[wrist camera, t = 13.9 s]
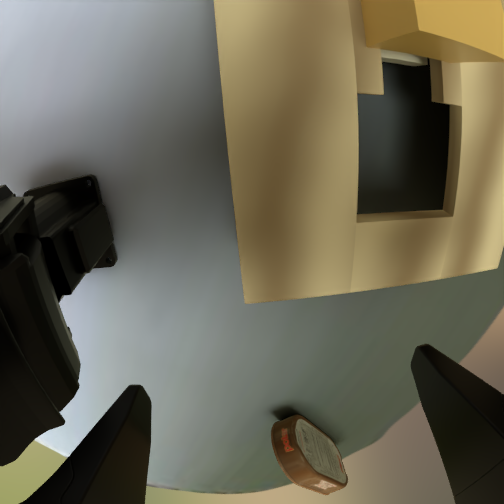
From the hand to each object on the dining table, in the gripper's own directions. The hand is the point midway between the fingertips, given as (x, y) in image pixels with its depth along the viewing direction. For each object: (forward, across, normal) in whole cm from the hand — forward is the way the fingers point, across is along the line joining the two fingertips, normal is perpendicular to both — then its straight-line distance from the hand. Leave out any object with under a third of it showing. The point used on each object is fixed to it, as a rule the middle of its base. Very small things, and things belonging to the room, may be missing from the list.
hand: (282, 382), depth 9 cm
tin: (+12, -3, +27) cm, 29 cm away
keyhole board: (+12, -7, -9) cm, 17 cm away
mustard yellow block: (+9, -7, -12) cm, 17 cm away
